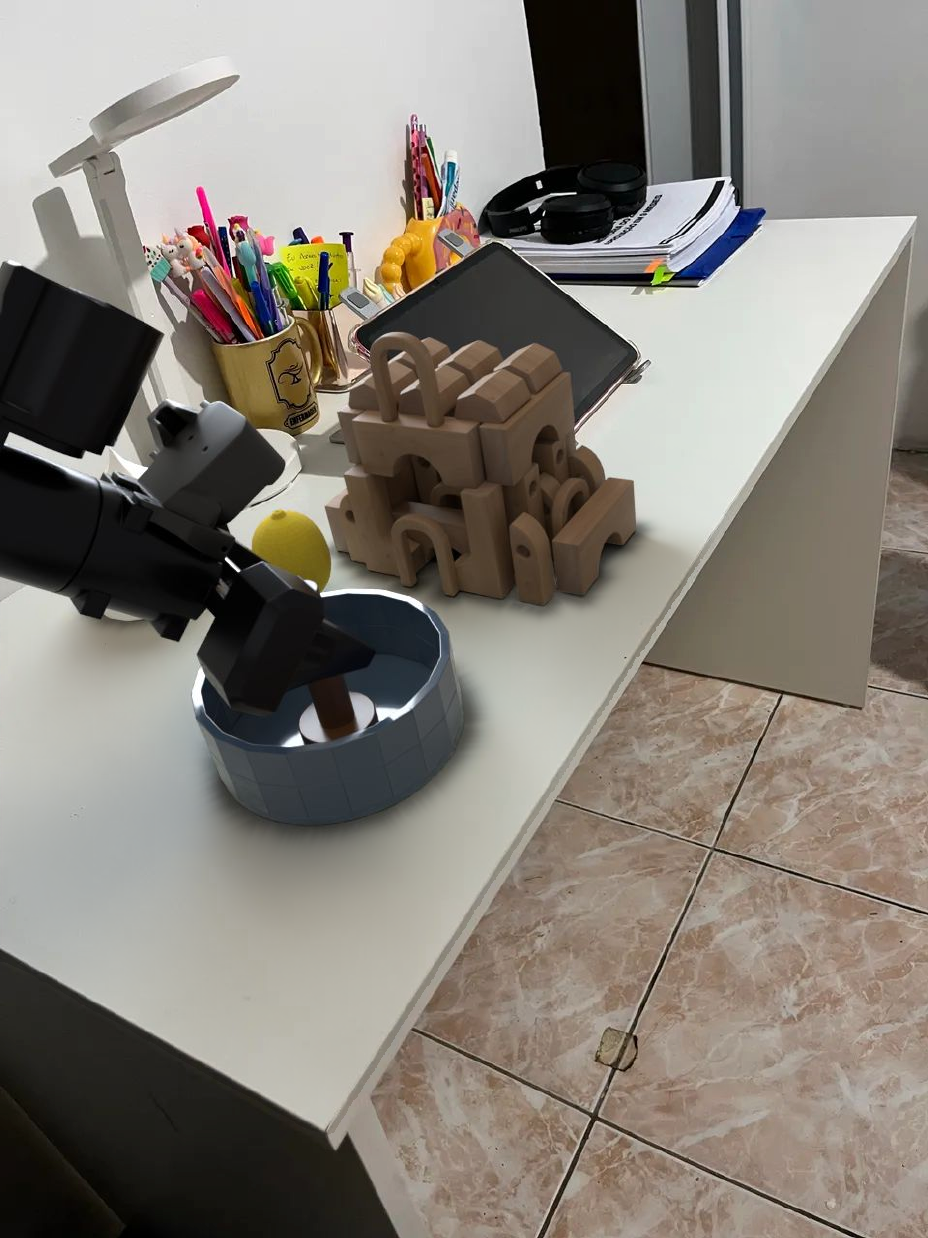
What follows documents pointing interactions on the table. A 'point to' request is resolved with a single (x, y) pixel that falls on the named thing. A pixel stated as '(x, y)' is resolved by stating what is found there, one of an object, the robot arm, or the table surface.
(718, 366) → the table surface
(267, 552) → the lemon
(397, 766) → the bowl
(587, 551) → the wooden puzzle
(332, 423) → the table surface
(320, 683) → the brown wooden peg
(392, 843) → the table surface
